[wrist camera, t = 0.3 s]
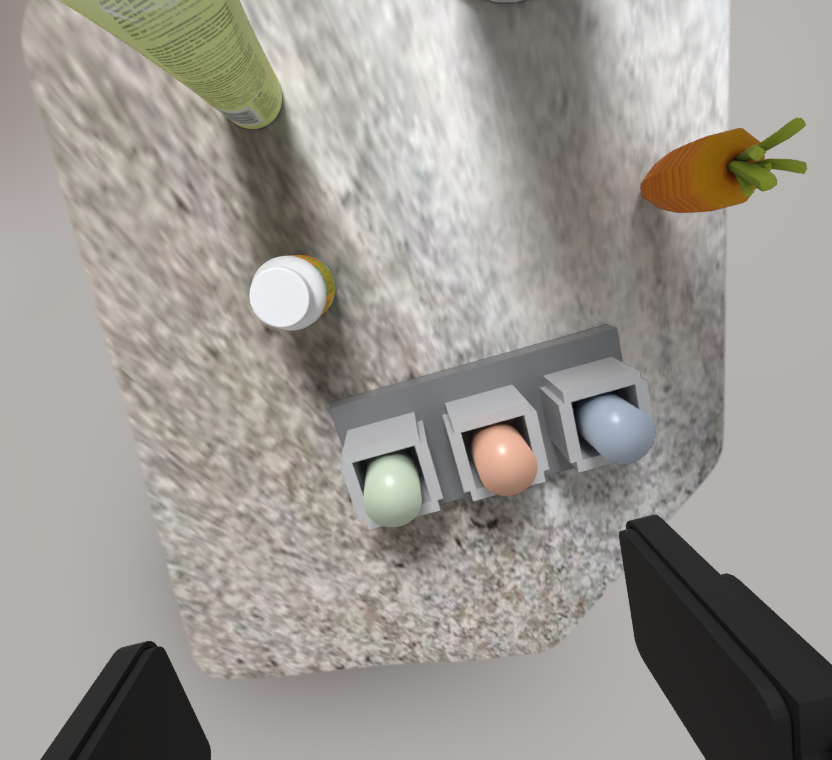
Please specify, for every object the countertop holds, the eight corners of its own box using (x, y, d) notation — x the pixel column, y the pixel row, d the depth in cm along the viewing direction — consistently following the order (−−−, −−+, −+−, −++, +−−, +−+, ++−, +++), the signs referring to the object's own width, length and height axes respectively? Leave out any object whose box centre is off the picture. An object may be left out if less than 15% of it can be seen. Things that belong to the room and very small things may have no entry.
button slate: (567, 397, 40) (592, 418, 35) (619, 383, 40) (651, 402, 35) (577, 444, 41) (602, 471, 36) (627, 431, 41) (659, 455, 36)
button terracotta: (463, 426, 40) (473, 451, 35) (514, 412, 40) (531, 435, 35) (475, 472, 41) (486, 502, 36) (525, 459, 41) (542, 487, 36)
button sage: (359, 455, 40) (355, 483, 35) (410, 441, 40) (412, 468, 35) (375, 500, 41) (372, 533, 36) (424, 486, 41) (428, 518, 36)
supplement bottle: (349, 287, 41) (337, 298, 32) (306, 330, 42) (282, 354, 33) (302, 240, 40) (276, 238, 31) (259, 286, 41) (221, 297, 32)
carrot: (655, 144, 39) (809, 83, 25) (683, 196, 41) (844, 166, 26) (604, 182, 40) (725, 145, 26) (633, 232, 41) (764, 223, 27)
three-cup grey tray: (332, 401, 44) (321, 429, 37) (606, 324, 43) (646, 338, 37) (370, 512, 47) (366, 556, 40) (626, 442, 46) (666, 474, 40)
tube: (230, 38, 36) (54, -193, 17) (295, 68, 37) (195, -123, 18) (210, 115, 37) (25, -21, 18) (273, 142, 38) (157, 38, 19)
